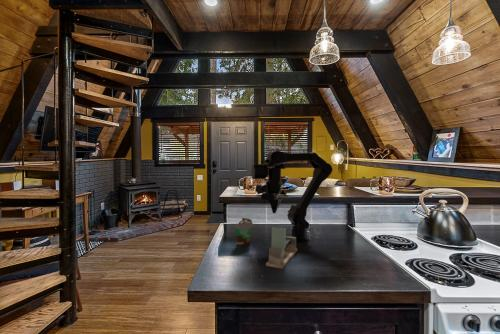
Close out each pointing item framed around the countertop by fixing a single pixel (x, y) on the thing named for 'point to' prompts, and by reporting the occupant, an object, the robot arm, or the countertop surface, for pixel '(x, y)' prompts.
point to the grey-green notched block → (279, 238)
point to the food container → (243, 232)
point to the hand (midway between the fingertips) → (274, 213)
